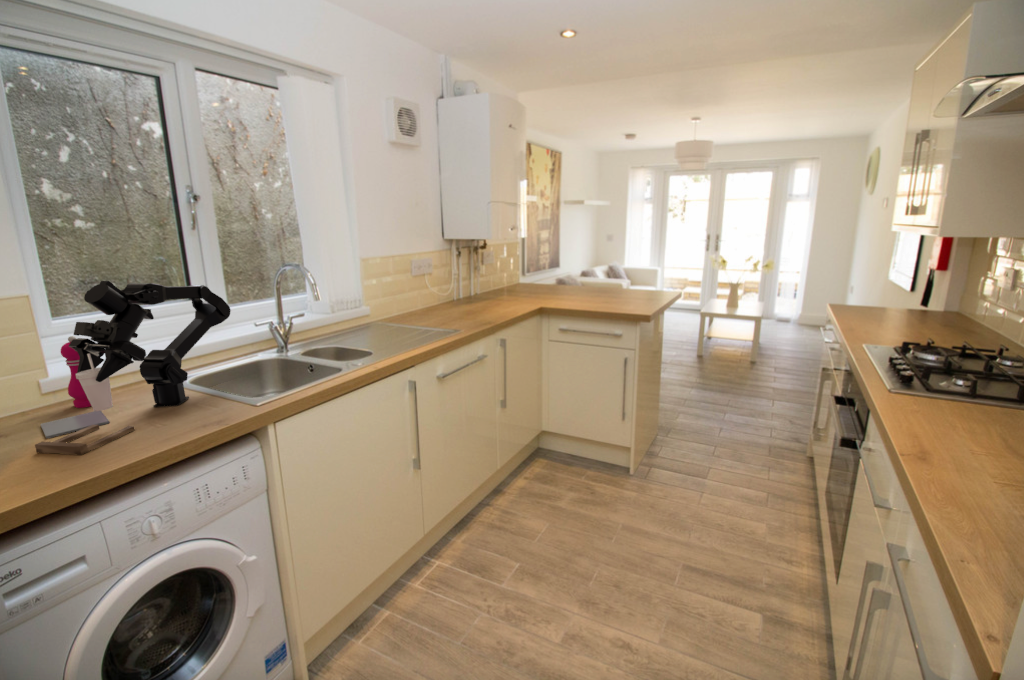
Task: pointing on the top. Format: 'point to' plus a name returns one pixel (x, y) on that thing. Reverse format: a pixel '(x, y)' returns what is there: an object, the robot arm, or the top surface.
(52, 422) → the plate
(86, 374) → the smoothie
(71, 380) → the pepper mill
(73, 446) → the lane
